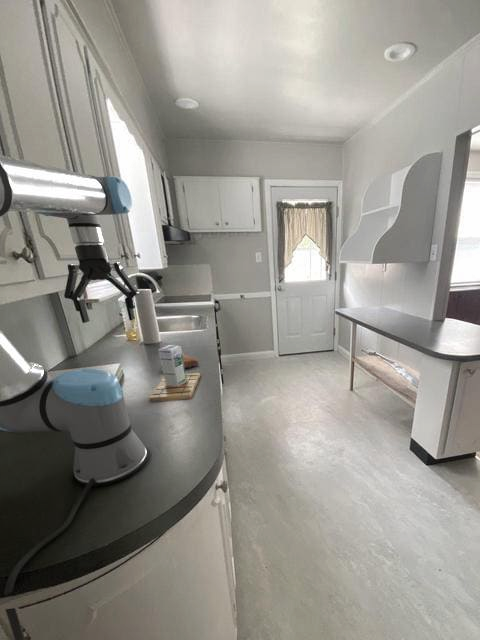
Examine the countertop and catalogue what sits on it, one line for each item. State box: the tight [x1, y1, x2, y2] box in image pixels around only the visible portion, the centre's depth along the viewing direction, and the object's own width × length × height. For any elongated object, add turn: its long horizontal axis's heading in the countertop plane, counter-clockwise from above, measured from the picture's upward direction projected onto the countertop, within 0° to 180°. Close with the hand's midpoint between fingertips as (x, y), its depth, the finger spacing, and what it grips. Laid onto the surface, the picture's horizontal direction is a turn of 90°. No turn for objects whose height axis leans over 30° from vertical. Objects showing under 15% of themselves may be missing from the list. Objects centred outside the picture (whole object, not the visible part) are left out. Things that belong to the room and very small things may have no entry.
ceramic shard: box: [161, 354, 199, 369], centre depth 138 cm, size 15×6×15 cm
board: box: [148, 372, 201, 402], centre depth 116 cm, size 22×14×2 cm, turn 7°
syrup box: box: [157, 344, 187, 387], centre depth 113 cm, size 6×6×14 cm
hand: (109, 320), depth 93 cm, fingers open, 13 cm apart
